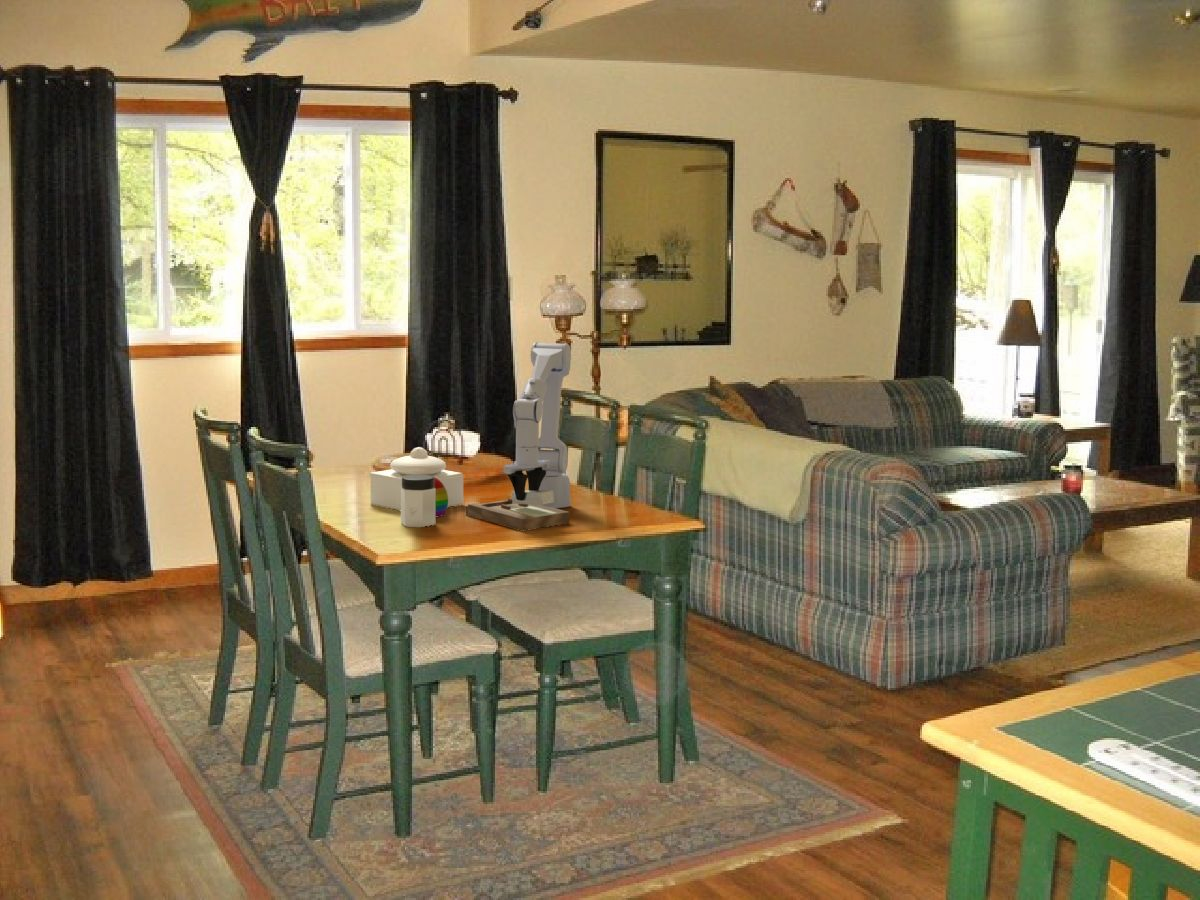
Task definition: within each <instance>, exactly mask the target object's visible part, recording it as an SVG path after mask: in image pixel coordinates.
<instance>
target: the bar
mask: <svg viewBox="0 0 1200 900" xmlns="http://www.w3.org/2000/svg"><path fill="white" fill-rule="evenodd" d="M511 498H512V504H542V505H543V504H548V503H554V496H553V491H547V490H529V489H525V496H524V500H523V501H521V500H517V499H516V495H515V491H511Z"/></svg>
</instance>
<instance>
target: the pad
mask: <svg viewBox="0 0 1200 900" xmlns="http://www.w3.org/2000/svg"><path fill="white" fill-rule="evenodd" d="M510 511H514V512H517V513H521V514H525V515H528V516H532V517H541V516H547V515H554V514H557V513H556V512H552V511H548V510H544V509H541V508H537V507H533V506H529V507H522V508H515V509H510Z"/></svg>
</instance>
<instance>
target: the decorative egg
mask: <svg viewBox="0 0 1200 900" xmlns="http://www.w3.org/2000/svg"><path fill="white" fill-rule="evenodd" d="M434 488H435V489H436V516H440V517H442V516H444V515H445V513H446V511H447V509H448V508H447V506H448V495H447V491H446V489H445V487H444V485H443V484H442V482H441V481H440V480H439V479H437V478H435V477H434ZM441 515H442V516H441Z"/></svg>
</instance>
